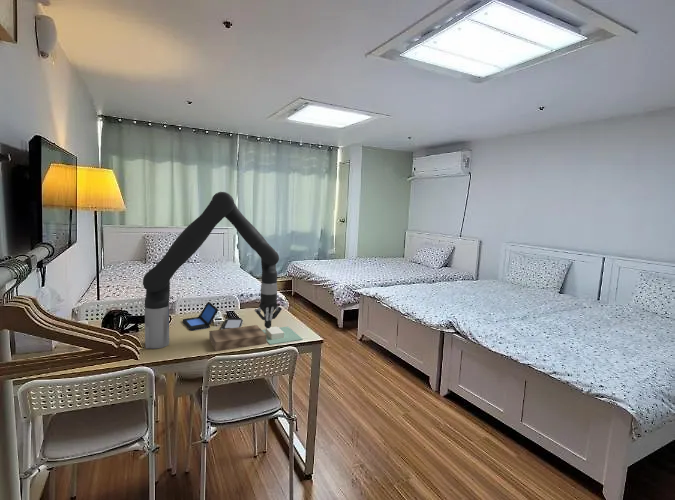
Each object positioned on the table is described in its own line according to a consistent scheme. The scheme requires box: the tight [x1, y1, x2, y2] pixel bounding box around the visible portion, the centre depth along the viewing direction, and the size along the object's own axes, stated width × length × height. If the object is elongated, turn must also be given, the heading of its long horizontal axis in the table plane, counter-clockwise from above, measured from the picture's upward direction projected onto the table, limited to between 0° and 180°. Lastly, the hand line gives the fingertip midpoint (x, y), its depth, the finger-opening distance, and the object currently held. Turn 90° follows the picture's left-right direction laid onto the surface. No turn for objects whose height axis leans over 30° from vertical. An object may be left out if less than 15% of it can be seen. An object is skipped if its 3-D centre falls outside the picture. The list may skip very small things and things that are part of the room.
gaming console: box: [220, 317, 244, 330], centre depth 183 cm, size 19×9×2 cm, turn 8°
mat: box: [261, 326, 304, 346], centre depth 175 cm, size 16×18×1 cm
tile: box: [264, 326, 284, 340], centre depth 174 cm, size 6×9×3 cm, turn 30°
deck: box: [208, 324, 267, 352], centre depth 165 cm, size 22×14×4 cm, turn 120°
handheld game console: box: [182, 301, 219, 331], centre depth 184 cm, size 16×13×9 cm
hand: (267, 327), depth 172 cm, fingers closed
